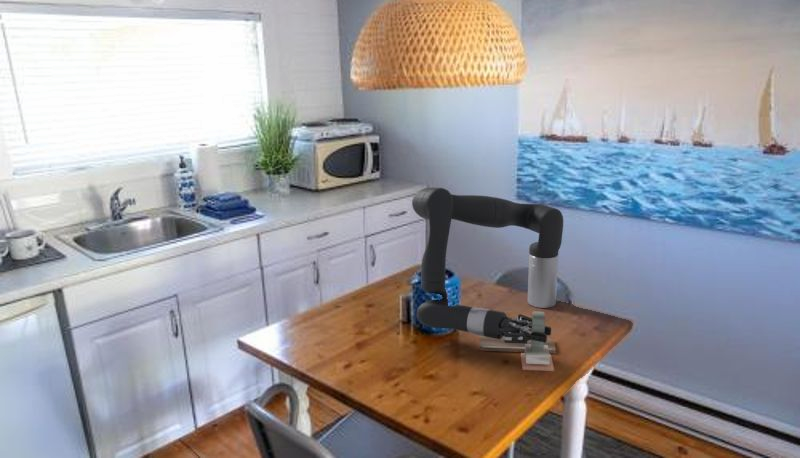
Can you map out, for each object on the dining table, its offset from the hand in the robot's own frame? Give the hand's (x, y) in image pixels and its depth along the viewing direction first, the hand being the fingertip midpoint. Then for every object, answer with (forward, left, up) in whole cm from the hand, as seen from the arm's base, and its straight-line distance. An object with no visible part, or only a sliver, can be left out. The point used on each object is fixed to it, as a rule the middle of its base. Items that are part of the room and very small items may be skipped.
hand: (548, 334), depth 149 cm
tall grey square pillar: (-1, -3, -7) cm, 8 cm away
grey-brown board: (-10, -8, -9) cm, 15 cm away
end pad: (-1, -3, -9) cm, 9 cm away
